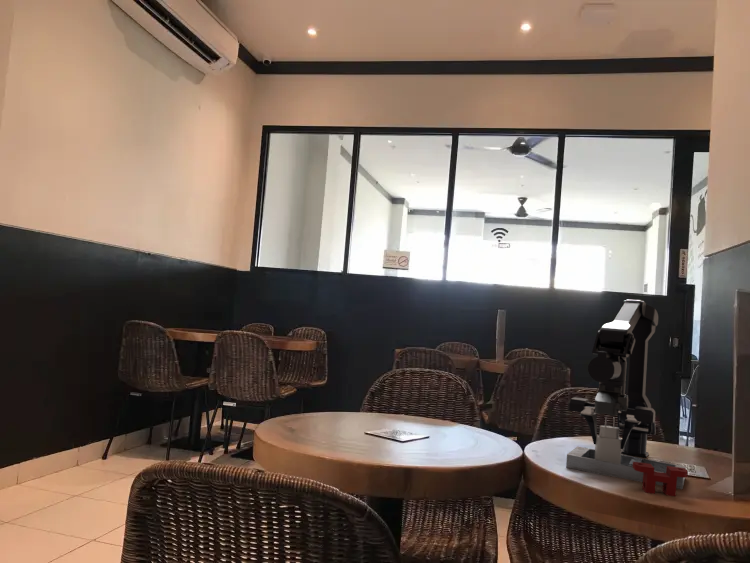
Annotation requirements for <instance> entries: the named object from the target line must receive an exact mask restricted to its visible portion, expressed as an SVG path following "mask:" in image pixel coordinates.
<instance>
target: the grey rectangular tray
mask: <svg viewBox="0 0 750 563" xmlns="http://www.w3.org/2000/svg"><path fill="white" fill-rule="evenodd" d="M633 462H640V463H648V464H651V465H652V466H653V467H654V472H661V473H666V468H667V466H672V467H679V468H685V469H686V467H687V466H685V465H680V464H675V463H668V462H664V461H658V460H652V459H647V458H644V457H638V456H633V455H628V454H621V464H616V463H611V462H606V461H601V460H596V459H595V449H592V448H588V447H583V446H579V445H578V446H576V447H574V449H572V450H571V451H569V452H568V453H567V454H566V463H565V464H566V465H565V467H566V468H567V469H572V470H576V471H582V472H587V473H592V474H596V475H602V476H608V477H612V478H618V479H623V478H624V479H625V480H629V481H635V482H641V483H643V473H644V472H639V471H636V470H634V468H633ZM686 470H687V469H686ZM685 479H686V477H685V478H683V477H677V483H676V490H677V489H679V490H683V488H684V484H685V481H686V480H685ZM656 485H658V486H662V487H663V482H657V481H656V484H655V486H656Z"/></svg>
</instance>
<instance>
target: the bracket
mask: <svg viewBox="0 0 750 563" xmlns="http://www.w3.org/2000/svg"><path fill="white" fill-rule="evenodd" d="M633 468H634V470H636V471H639V472H644V473H643V482H642V487H641V488H642V491H644V492H645V493H646V494H655V492H656V481H657V482H663V486H662V493H664V494H665V495H666V496H671V497H676V495H677V494H676V493H677V488H676V483H677V477H683V478H685V479H686V478H688V475H689V474H688V472H689V471H688V469H685V468H679V467H672V466H667V468H666V473H661V472H654V467H653V466H652V465H651V464H648V463H640V462H633Z"/></svg>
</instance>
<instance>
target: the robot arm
mask: <svg viewBox="0 0 750 563" xmlns="http://www.w3.org/2000/svg"><path fill="white" fill-rule="evenodd" d="M658 325H659V314H658V311H657V310H656V308H655V307H653V306H651V305H649V304H647V303H646V302H645V301H644V300H642V299H629V298H628V299H626V300H623V301H622V306H621V308H620V310H619V311H618V313H617V315H616V316H615V318H614V320H613V321H611V322H607V323H604V324H603V325H602V326H601V327H600V329H599V330H598V331H597V333H596V337H595V340H594V344H593V347H592V351H591V354H593V355H597V356H596V357H594V358H592V359H591V360H590V362H589V364H588V366H587V370H588V374H589V377H590V378H591V379H592V380H594V381H596V382H599V383H598V391H597V392H596V395H595V398H594V402H590V399H589V398H582V397H572V398H570V399H569V400H568V401H567V411H569V412H576V413H579V416H580V417H583V418H584V419H585V420H586V422H587V425H588V428H589V431H590V435H591V438H592V442H593V445H596V435H598V420H597V419H598V416H597V414H599V415H602V414H603V415H604V414H605V415H609V416H612V417H616V416H617V419H616V420H617V428H619V430H623V433H622V436H621V439H622V441H621V454H622V455H627V456H632V457H638V458H643V459H647V457H648V456H649V451H647V442H648V441H647V440H648V435H649V436H653V435H656V431H657V430H656V428H657V427H656V410H655V409H654V408H653V407H652V404H651V403H650V400H649V398H648V397H647V395H646V388H647V387H646V386H647V383H646V382H647V370H648V367H647V366H648V365H647V364H648V350H649V349H648V348H649V340H650V339H651V338H652V336H653V335H654V334H655V333H656V327H657V326H658ZM627 358H628V362H627ZM627 364H628V365H627ZM627 366H628V374H627ZM626 376H627V377H626ZM626 378H627V380H626ZM626 381H627V390H626Z"/></svg>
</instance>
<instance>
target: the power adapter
mask: <svg viewBox="0 0 750 563" xmlns="http://www.w3.org/2000/svg"><path fill="white" fill-rule="evenodd" d="M604 417H605V421H604V425H599V432H598V433H599V434H597V435H596V444H594V445H595V449H594V450H595V459H596V460H601V461H606V462H611V463H616V464H621V455H622V453H621V450H622V449H621V441H622V437H620V429H619V428H618V426H616V424H615V422H616V421H615V420H616V416H613V420H612V421H613V422H612V425H613V426H610V425H607V420H608V417H607V416H606V415H605V416H604Z"/></svg>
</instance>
